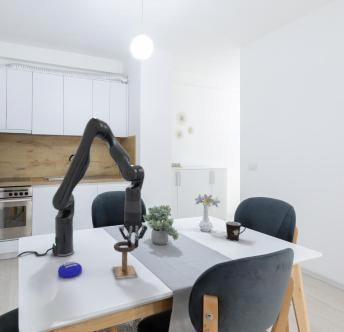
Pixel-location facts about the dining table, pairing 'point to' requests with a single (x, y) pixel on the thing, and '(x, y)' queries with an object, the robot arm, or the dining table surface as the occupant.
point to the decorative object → (69, 269)
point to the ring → (121, 249)
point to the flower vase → (206, 211)
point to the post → (124, 268)
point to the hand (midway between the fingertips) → (132, 247)
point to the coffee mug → (233, 230)
